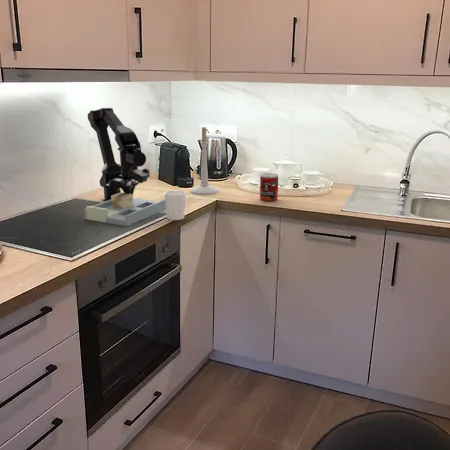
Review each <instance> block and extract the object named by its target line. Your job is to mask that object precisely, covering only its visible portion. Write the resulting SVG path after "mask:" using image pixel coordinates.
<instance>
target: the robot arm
mask: <svg viewBox="0 0 450 450" xmlns="http://www.w3.org/2000/svg"><path fill="white" fill-rule="evenodd" d="M87 121H88V122H89V124H90V127H91V128H92V129H93V130H94V132H95V133H96V136H97V141H98V144H99V145H98V146H99V149H100V154H101V157H102V162H103V166H102V170H101V176H100V180H99V185H100V186H99V187H102V188H103V194H104V195H103V196H104V197H103V198H102V199H101V200H102V201H108V200H111V196H112V195H115V194H117V193H120V192H121V190H122V191H123V192H121V193H128V194H132V196H133V195H134V192H135V189H136V187H137V186H138V185H140V184H143V183H144V182H145V183H147V181H148V178H150V177H151V175H150V169H149V168H147V167H146V168H143V169H139V167H143V166H144V165H145V164H146V162H147V156H146V154H145V153H144V152H142V146H141V143H140V141H139V139H138V136H137V134H136V133H135V132H134V131H133V130H132V128H130V127H128V126H126V125H124V124H123V122H122V121H121V120H120V118H119V117H118V116H117V114H116V113H115V112H114V109H113V108H112V107H101V108H99V109H95V110H94V109H91V110H90V111H89V112H88V114H87ZM108 128H110V130H111V131H112V132H113V134H114V140H115V142H116V144H117V146H118V148H117V150H118V151H119V161H120V163H117V162H116V159H115V154H114V152H113V147H112V144H111V138H110V135H109V131H108ZM133 197H134V196H133Z"/></svg>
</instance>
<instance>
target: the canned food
mask: <svg viewBox="0 0 450 450" xmlns="http://www.w3.org/2000/svg"><path fill="white" fill-rule="evenodd" d="M259 184H260V185H259V199H260V201H263V202H267V201H269V202H270V201H271V202H276V201H277V200H278V194H279V174H278V173H274V172H265V173H261V174H260V181H259Z"/></svg>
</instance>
